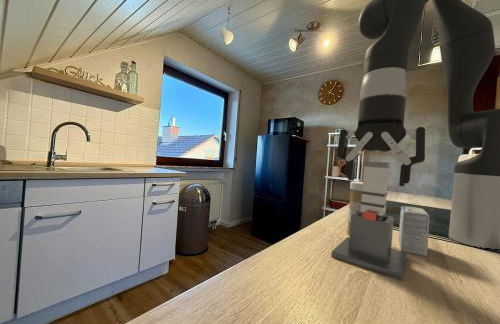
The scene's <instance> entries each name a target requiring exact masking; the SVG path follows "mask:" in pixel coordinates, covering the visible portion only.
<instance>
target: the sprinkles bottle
mask: <svg viewBox="0 0 500 324" xmlns="http://www.w3.org/2000/svg"><path fill="white" fill-rule="evenodd" d="M349 183H350V185H349V186H350V187H349V189H350V194H349V205H348V213H347V230H346V233H347V234H348V235H349V236H350V227H351V215H353V214H354V213H356V212H357V211H361V201H362V194H361V192H362V188H363V181H355V180H354V181H350V182H349Z"/></svg>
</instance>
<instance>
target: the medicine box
mask: <svg viewBox="0 0 500 324" xmlns="http://www.w3.org/2000/svg"><path fill="white" fill-rule="evenodd" d="M429 231H430V215H429V213H427V211H425V209H423V208H422V207H421V208H419V207H415V206H414V207H413V206H406V205H405V206H404V205H403V206H400V215H399V229H398V242H399V245H400V251H401V252H405V253H407V254H408V253H409V254H413V255H417V256H422V257H428V246H429V245H428V244H429Z"/></svg>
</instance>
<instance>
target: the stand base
mask: <svg viewBox="0 0 500 324" xmlns="http://www.w3.org/2000/svg"><path fill="white" fill-rule="evenodd" d="M360 212H361V211H357V212H356V213H354V214H353V215H351V227H350V235H349V236H347V237H346V238H345V239H344V240H343V241H341V242H340V243H339V244H338V245H337V246H336V247H335V248H334V249H333V250H331V257H332V258H334V259H337V260H340V261H344V262H346V263H348V264H352V265H355V266H357V267H361V268H364V269H367V270H370V271H372V272H376V273H378V274H382V275H384V276H388V277H390V278H393V279H395V280H399V281H403V278H404V273H405V267H406V262H407V255H408V252H404V251H401V250H397V249H394V248H392V243H393V233H394V232H393V230H394V219H395V218H394V217H393V216H388V215H386V216H385V221H380V220H377V213H373V212H368V211H364V212H363V217H361V216H360Z"/></svg>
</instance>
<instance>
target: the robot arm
mask: <svg viewBox="0 0 500 324" xmlns="http://www.w3.org/2000/svg"><path fill="white" fill-rule="evenodd" d="M429 1H430V0H371V1H369V2H368V3H367V4H366V5H365V6H364V7H363V8H362V10H361V12H360V13H359V14H360V15H359V18H358V29H359V32H360V34H361V35H362V36H363V37H364V38H366V39H369V40H376V41H375V42H373V43H372V44H370V46H369V47H368V48H367V49H366V51H365V56H364V64H363V75H362V82H361V86H360V93H359V106H358V119H357V127H356V129H355V130H347V129H345V128H342V129H341V130H340V131H339V137H338V145H337V152H336V157H337V158H339V159H342V160H344V161H345V172H344V173H345V174H344V175H345V178H347V180H348V181H350V182H354V181H355V177H356V164H357V163H356V162H355V161H356V159H358V157H359V156H360V155H362V154H364V152H365V151H367V152H382V153H388V152H391V151H392V153H394V155H396V156H397V158H398V159H399V160H400V162H401V163H402V164H401V165H400V171H399V183H398V184H399V185H398V186H399V187H405V185H406V184H409V182H410V181H411V173H412V172H411V171H412V166H414V165H415V164H420V163H423V162H424V161H425V159H426V128H425V127H424V126H418V127H416V128H409V129H406V128H405V124H404V123H405V112H406V103H407V102H406V101H407V93H408V91H407V90H408V77H407V70H408V62H409V61H408V58H409V50H410V47H411V44H412V41H413V39H414V37H415V35H416V32H417V29H418V27H419V24H420V21H421V19H422V16H423V13H424V10H425V6H426V4H427V3H428V2H429ZM431 2H432V6H433V10H434V14H435V21H436V27H437V35H438V43H439V51H440V59H441V60H440V61H441V65H442V69H443V74H444V80H445V89H446V100H447V102H446V103H447V130H448V135H449V139H450V142H451V143H452V144H453V146H455V147H457V148H459V149H480V151H479V153H478V154H476V155H475V156H473V157H470V158H468V159H464V160H460V161H457V162H456V163H455V165H454V168H453V172H454V173H453V183H452V196H451V204H450V205H451V206H450V207H451V208H450V218H449V227H448V237H449V238H450V239H451V240H454V241H455V242H458V243H462V244H464V245H467V246H472V247H475V246H476V248H480V247H481V249H485V248H491V249H490V250H493V249H500V108H493V109H487V110H480V111H474V95H475V91H476V90H477V87H478V85H479V83H480V81H481V79H482V78H483V76H484V74H485V73H486V71H487V70H488V68H489V66H490V64H491V63H492V60H493V58H494V55H495V53H496V52H495V51H496V42H495V35H494V34H495V33H494V26H493V23H492V21H491V20H490V18H489V17H488V16H486V15H485V14H484V13H482V12H480V11H479V10H477V9H475V8H474V7H472V6H470V5H468V4H467V3H465V2H464V1H463V0H431ZM406 136H408V137H410V140H411V142H412V141H413V142H415V155H414V156H410V157H409V156H408V155H407V153H406V152H405V151H404V150H403V149H402V147H401V146H400V145H399V143H400V142H401V141H403V139H404V138H405V137H406ZM353 137H355V138H356V140H357V143H356V144H355V146H353V148H352V149H351V151H350V152H349V153H347V152H348V145H349V142H350V141H351V140H352V139H353Z"/></svg>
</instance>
